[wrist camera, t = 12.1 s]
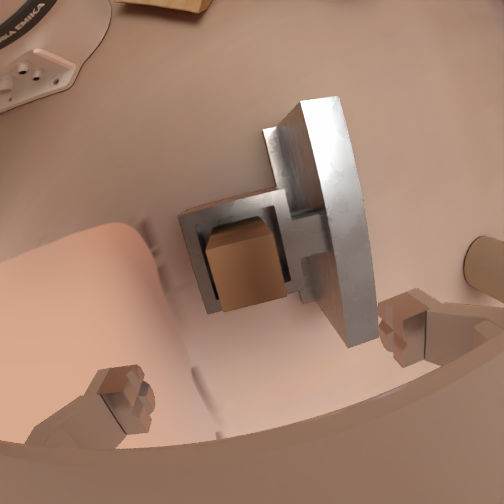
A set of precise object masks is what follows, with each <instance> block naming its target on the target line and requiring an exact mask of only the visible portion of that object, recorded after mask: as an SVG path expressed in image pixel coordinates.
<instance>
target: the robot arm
mask: <svg viewBox="0 0 504 504" xmlns="http://www.w3.org/2000/svg"><path fill="white" fill-rule="evenodd" d="M110 18H111V6H110V3H109V1H108V0H0V113H2V112H5V111H7V110H9V109H12V108H14V107H17V106H20V105H22V104H25V103H28V102H30V101H33V100H36V99H39V98H42V97H45V96H48V95H51V94H54V93H57V92H60V91H64V90H66V89H68V88H70V87H71V86H72V84H73V83H74V81H75V79H76V77H77V75H78V72H79V70H80V68H81V66H82V64H83V63H84V62H85V60H86V59H87V58H88V57H89V56H90V55H91V54H92V52H93V51H94V50H95V49H96V47H97V46H98V45H99V43H100V42H101V40H102V39H103V37H104V35H105V33H106V31H107V29H108V26H109V23H110ZM58 80H59V82H58V84H57V85H56V82H57V81H58ZM377 311H378V316H379V317H380V318H381V319H382V321H381V323H380V324H379V335H380V339H381V342H382V344H383V346H384V347H385V349H386V350H387V351H390V352H393V355H394V359H395V360H396V361H397V362H398V363H399V364H400V366H401V367H402V368H405V367H407V366H410V365H412V364H414V363H417V362H419V361H421V360H424V359H425V360H426V361H429V362H431V363H434V364H437V365H440V366H441V367H440V368H438V369H436V370H434V371H432V372H429V373H427V374H425V375H423V376H421V377H419V378H417V379H415V380H413V381H410V382H408V383H406V384H404V385H401V386H399V387H397V388H394V389H392V390H390V391H387V392H385V393H382V394H380V395H377V396H375V397H372V398H370V399H367V400H364V401H362V402H359V403H356V404H354V405H351V406H348V407H345V408H342V409H339V410H336V411H333V412H330V413H327V414H324V415H321V416H317V417H314V418H311V419H307V420H304V421H300V422H297V423H293V424H289V425H285V426H281V427H277V428H273V429H269V430H265V431H260V432H256V433H251V434H246V435H241V436H236V437H230V438H225V439H219V440H213V441H206V442H199V443H192V444H183V445H174V446H163V447H150V448H134V449H115V448H116V447H117V446H118V445H119V444H120V443H121V442H122V440H123V439H124V438H125V437H126V435H130V434H140V433H148V432H149V428H150V424H151V420H152V419H151V417H150V414H151V413H152V412H153V411H154V408H155V396H154V393H153V390H152V388H151V386H150V385H149V384H148V383H146V382H145V381H143V379H144V373H143V371H142V369H141V367H140V366H138V365H130V366H122V367H115V368H107V369H102V370H98V372H97V373H96V375H95V377H94V378H93V380H92V382H91V384H90V385H89V387H88V389H87V391H86V392H85V394H84V396H79V397H78V398H76V399H75V400H74V401H72V402H71V403H69V404H68V405H66V406H65V407H63V408H62V409H60V410H59V411H57V412H56V413H55V414H53V415H52V416H50V417H49V418H47V419H46V420H44V421H43V422H41V423H40V424H38V425H37V426H36V427H34V429H33V430H32V432H31V434H30V435H29V437H28V438H27V440H26V442H25V444H20V443H13V442H6V441H1V440H0V504H504V308H500V307H489V306H478V305H467V304H457V303H447V302H446V303H443V304H442V303H440V302H439V301H437V300H436V299H434V298H432V297H431V296H429V295H428V294H426V293H425V292H423V291H421V290H420V289H418V288H414V289H412V290H410V291H407V292H405V293H402V294H400V295H397V296H395V297H392V298H390V299H387V300H384V301H382V302H380V303H378V307H377Z"/></svg>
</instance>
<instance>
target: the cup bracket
mask: <svg viewBox="0 0 504 504" xmlns="http://www.w3.org/2000/svg"><path fill="white" fill-rule="evenodd" d="M262 132H263V136H264V140H265V143H266V147H267V151H268V155H269V159H270V163H271V168H272V172H273V176H274V180H275V184H276V187H273V188H268V189H264V190H260V191H256V192H252V193H248V194H244V195H240V196H236V197H232V198H228V199H224V200H220V201H217V202H213V203H209V204H205V205H202V206H198V207H194V208H191V209H187V210H186V211H184V212H183V213H181V214H180V215H178V219H179V222H180V226H181V229H182V233H183V236H184V240H185V243H186V247H187V250H188V253H189V257H190V260H191V263H192V267H193V270H194V273H195V276H196V280H197V283H198V286H199V289H200V292H201V296H202V299H203V302H204V305H205V308H206V311H207V314H211V313H215V312H219V311H223V309H222V305H221V302H220V299H219V295H218V292H217V289H216V285H215V282H214V279H213V275H212V272H211V268H210V265H209V261H208V258H207V254H206V251H205V250H206V247H207V244H208V241H209V238H210V235H211V232H212V229H213V227H216V226H220V225H224V224H227V223H231V222H235V221H239V220H243V219H247V218H251V217H255V216H259V217H260V218H261V219H262V220H263V222H264V223H265V224H266V225H267V227H268V228H269V229H270V230H271V231H272V233H273V236H274V240H275V244H276V249H277V253H278V257H279V262H280V266H281V271H282V275H283V279H284V284H285V288H286V293H287V294H290V293H294V292H297V291H299V292H300V296H301V301H302V303H303V304H304V303H308V302H311V301H316V302H317V304H318V305H319V307H320V308H321V309H322V311H323V312H324V314H325V315H326V317H327V318H328V320H329V321H330V322H331V324H332V325H333V327H334V328H335V330H336V331H337V333H338V334H339V336H340V337H341V339H342V340H343V341H344V343H345V344H346V346H347V347H348V348H350V347H353V346H356V345H359V344H362V343H365V342H368V341H370V340H373V339H376V338H379V327H378V313H377V301H376V291H375V281H374V272H373V264H372V256H371V249H370V242H369V235H368V228H367V222H366V216H365V210H364V204H363V199H362V194H361V188H360V183H359V178H358V174H357V169H356V164H355V160H354V155H353V151H352V146H351V142H350V138H349V134H348V130H347V126H346V122H345V118H344V115H343V111H342V107H341V104H340V100H339V97H338V96H334V97H326V98H319V99H312V100H305V101H300V102H299V103H298V104H297V105H296V106H295V107H294V108H293V110H292V111H291V112H290V113H289V114H288V115H287V116H286V117H285V118H284V119H283V120H282V121H281V123H280V124H279V125H278V126H277V127H273V128H268V129H263V130H262Z"/></svg>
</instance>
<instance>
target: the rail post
mask: <svg viewBox="0 0 504 504" xmlns="http://www.w3.org/2000/svg"><path fill="white" fill-rule="evenodd" d="M205 251H206V254H207V258H208V261H209V265H210V268H211V272H212V275H213V279H214V282H215V285H216V289H217V292H218V295H219V299H220V302H221V305H222V309H223V312H227V311H231V310H235V309H239V308H243V307H247V306H251V305H255V304H259V303H263V302H267V301H271V300H275V299H279V298H282V297H286V296H287V293H286V288H285V284H284V279H283V275H282V271H281V266H280V262H279V257H278V253H277V249H276V244H275V240H274V236H273V233H272V231H271V230H270V229H269V228H268V227H267V225H266V224H265V223H264V222H263V220H262V219H261V218H260V217H259V216H255V217H251V218H247V219H243V220H239V221H235V222H231V223H227V224H224V225H220V226H216V227H213V229H212V232H211V235H210V238H209V241H208V244H207V247H206V250H205Z"/></svg>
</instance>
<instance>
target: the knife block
mask: <svg viewBox="0 0 504 504" xmlns="http://www.w3.org/2000/svg"><path fill="white" fill-rule="evenodd" d="M211 1H212V0H114V2H116V3H133V4H143V5H151V6H158V7H163V8H170V9H176V10H183V11H189V12H192V13H201V12H202V11H204V10H206V9H207V8H208V6H209V4H210V2H211Z"/></svg>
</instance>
